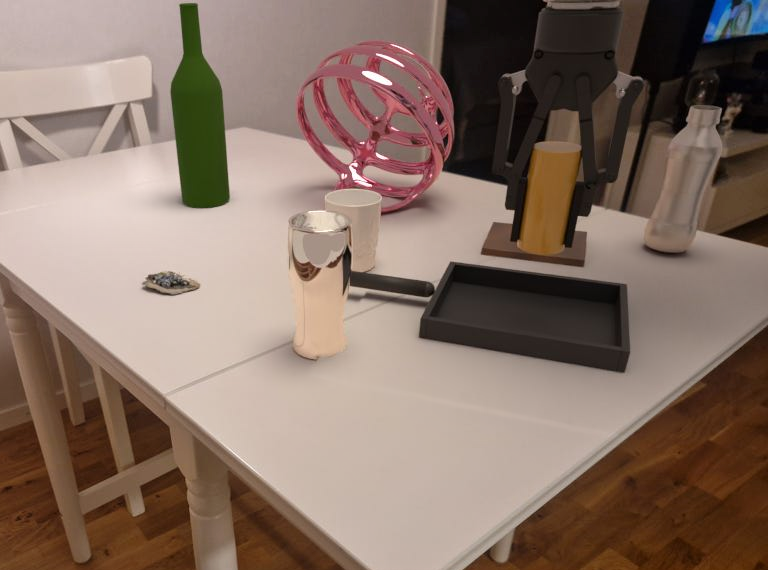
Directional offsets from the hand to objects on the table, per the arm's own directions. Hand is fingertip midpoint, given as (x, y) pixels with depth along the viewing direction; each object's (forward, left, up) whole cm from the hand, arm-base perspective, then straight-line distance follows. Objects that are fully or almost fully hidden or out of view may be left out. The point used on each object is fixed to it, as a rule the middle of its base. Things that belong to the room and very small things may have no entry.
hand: (541, 240), depth 74 cm
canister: (0, 0, -1) cm, 1 cm away
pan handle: (+17, 0, -9) cm, 19 cm away
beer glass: (+21, +14, -11) cm, 28 cm away
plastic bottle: (-17, -31, -11) cm, 37 cm away
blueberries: (+46, +5, -11) cm, 48 cm away
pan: (0, 0, -10) cm, 10 cm away
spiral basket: (+30, -40, -11) cm, 51 cm away
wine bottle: (+60, -30, -11) cm, 68 cm away
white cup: (+25, -10, -11) cm, 29 cm away
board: (+1, -25, -10) cm, 27 cm away
